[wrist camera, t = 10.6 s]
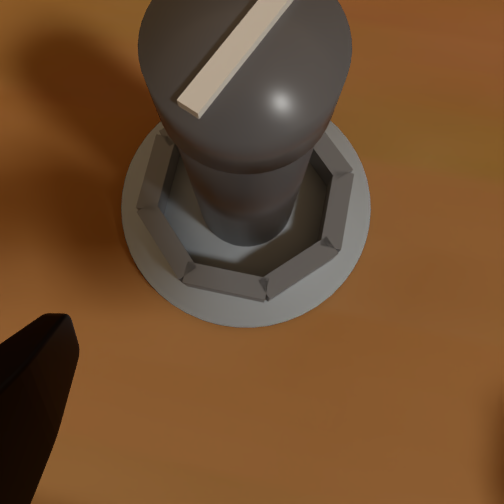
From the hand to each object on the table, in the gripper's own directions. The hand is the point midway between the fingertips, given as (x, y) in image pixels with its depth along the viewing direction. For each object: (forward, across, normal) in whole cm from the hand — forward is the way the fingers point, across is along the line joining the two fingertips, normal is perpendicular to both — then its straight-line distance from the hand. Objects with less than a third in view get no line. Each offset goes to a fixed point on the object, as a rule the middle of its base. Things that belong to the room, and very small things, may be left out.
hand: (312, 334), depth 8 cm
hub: (+15, +1, +5) cm, 15 cm away
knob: (+14, +1, +4) cm, 15 cm away
